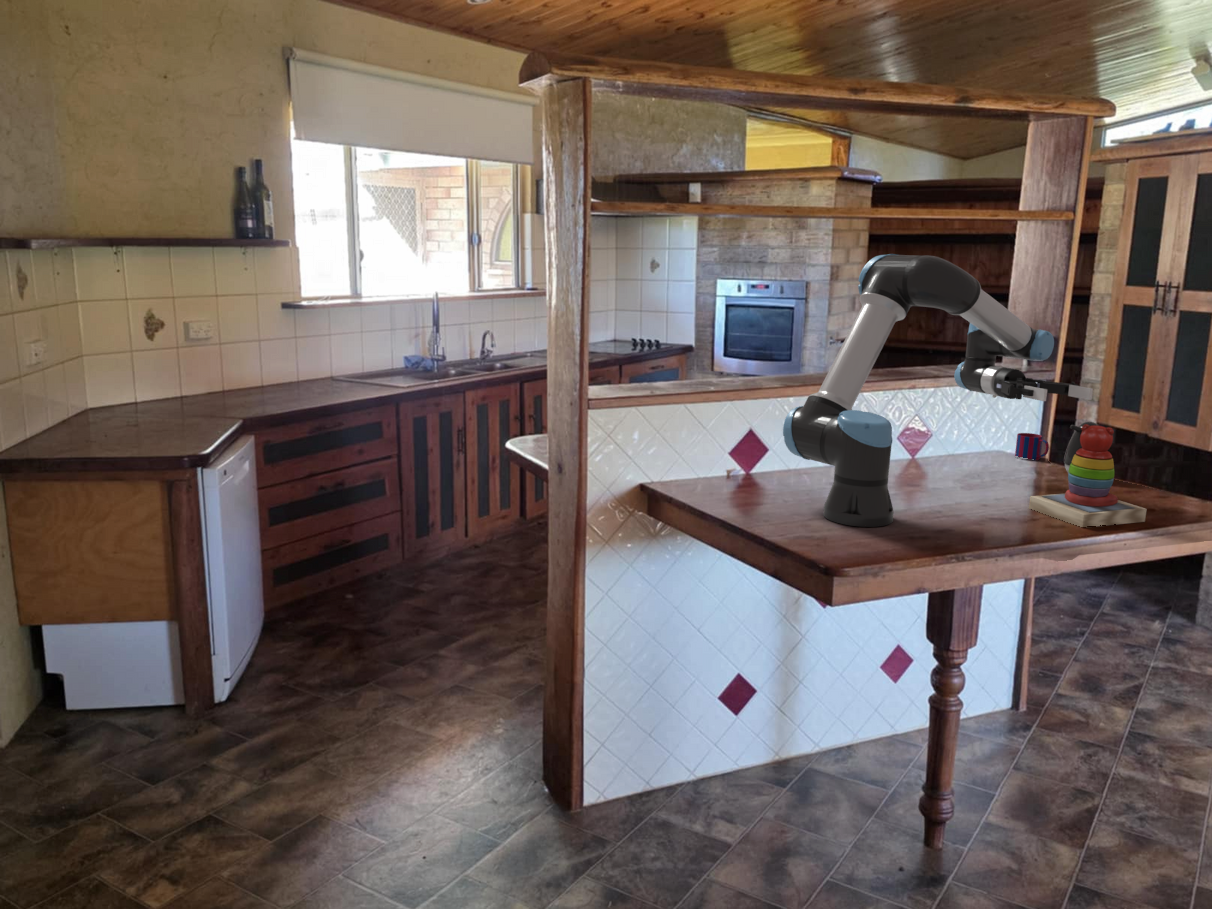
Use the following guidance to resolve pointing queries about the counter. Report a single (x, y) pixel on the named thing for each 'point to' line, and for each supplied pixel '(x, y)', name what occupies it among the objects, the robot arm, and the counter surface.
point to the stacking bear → (1092, 469)
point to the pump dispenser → (1074, 443)
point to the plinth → (1087, 511)
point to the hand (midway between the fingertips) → (1068, 394)
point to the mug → (1030, 446)
